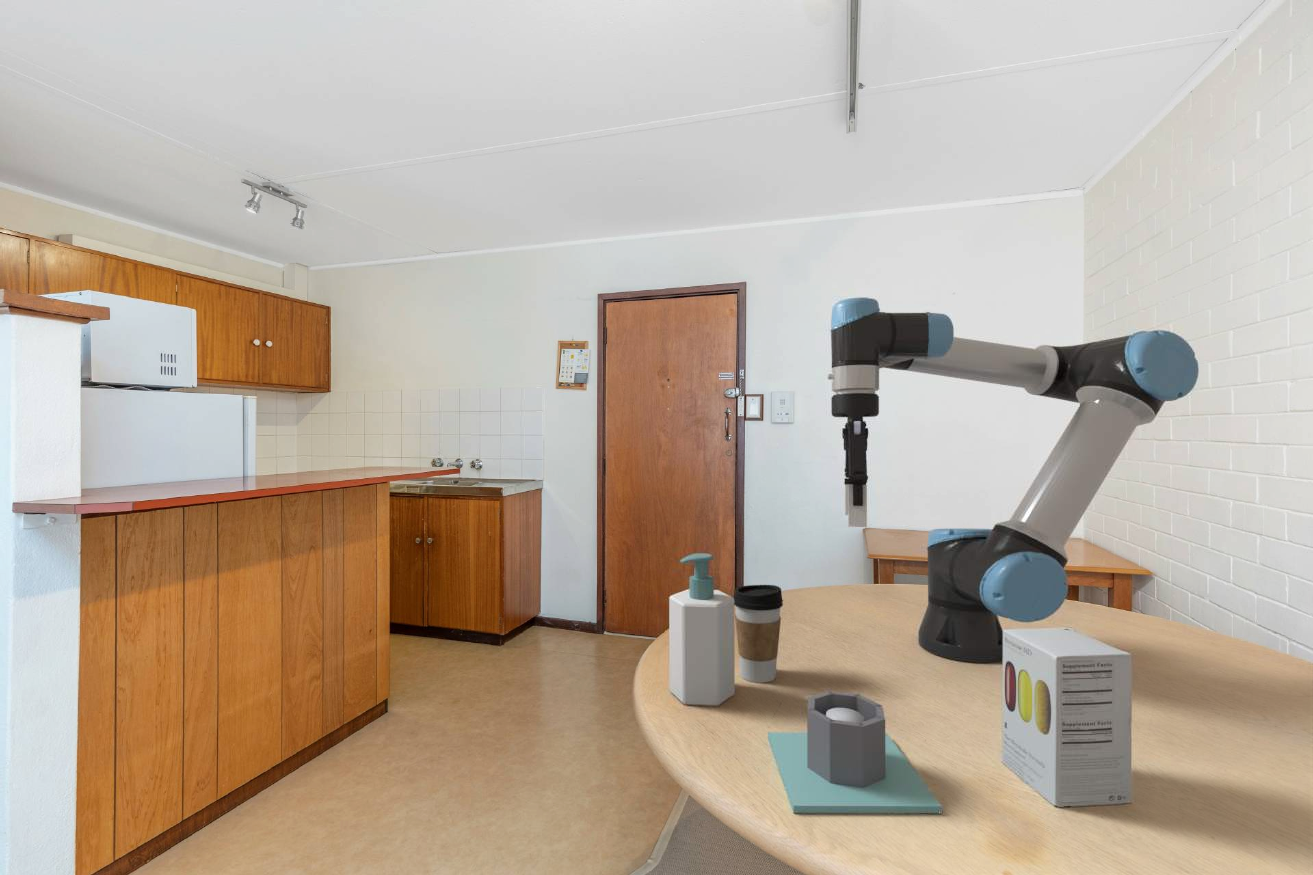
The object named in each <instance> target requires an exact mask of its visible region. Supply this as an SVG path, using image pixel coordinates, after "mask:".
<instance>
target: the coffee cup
mask: <svg viewBox="0 0 1313 875" xmlns="http://www.w3.org/2000/svg"><path fill="white" fill-rule="evenodd" d="M733 598H734V607H735V614H734V621H735V626H736V627H735V630H736V639H737V649H738V657H739V671H740V676H741V678H742V679H743V680H746V681H748V682H751V683H756V684H757V683H762V684H763V683H764V684H765V683H770V682H772V681H774V680H775V679H776V676H777V660H778V652H779V643H780V642H779V641H780V630H781V621H782V617H781V608H782V607H783V605H784V604H783V602H784V600H783V594H782V588H781V587H779V586H777V585H774V584H748V585H741V586H738V587H736V588H735V589H734V592H733Z"/></svg>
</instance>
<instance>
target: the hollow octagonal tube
mask: <svg viewBox="0 0 1313 875" xmlns="http://www.w3.org/2000/svg"><path fill="white" fill-rule="evenodd" d="M832 708H848V709H852V710H855V711H857V712H859V713H860V714H862V715H863V717H864V722H861V723H856V722H848V721H839V720H832V719H831V718H829V717H827V716H826V712H827V711H828V710H829V709H832ZM884 712H885V711H884V708H883V705H882V704H881V703H878V702H876V701H873V700H871V699H869V698H868V697H865V696H864V695H862V694H859V693H853V692H852V693H850V692H842V691H841V692H840V691H834V690H833V691H832V690H828V691H825V692H821V693H818V694H813V695H810V696H808V697H807V711H806V714H807V717H806V720H807V722H806V724H807V726H806V728H807V731H806V732H807V765H808V768H809V769H810V770H812V771H813V772H815V773H816V774H818V775H819V776H820V777H822V778H823V779H825V780H826V781H828V782H829V783H833V784H840V785H846V786H853V787H860V788H865V787H867V786H869V785H872V784H874V783H877V782H879V781H881V780H884V779H885V733H886V716H885V713H884Z"/></svg>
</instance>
